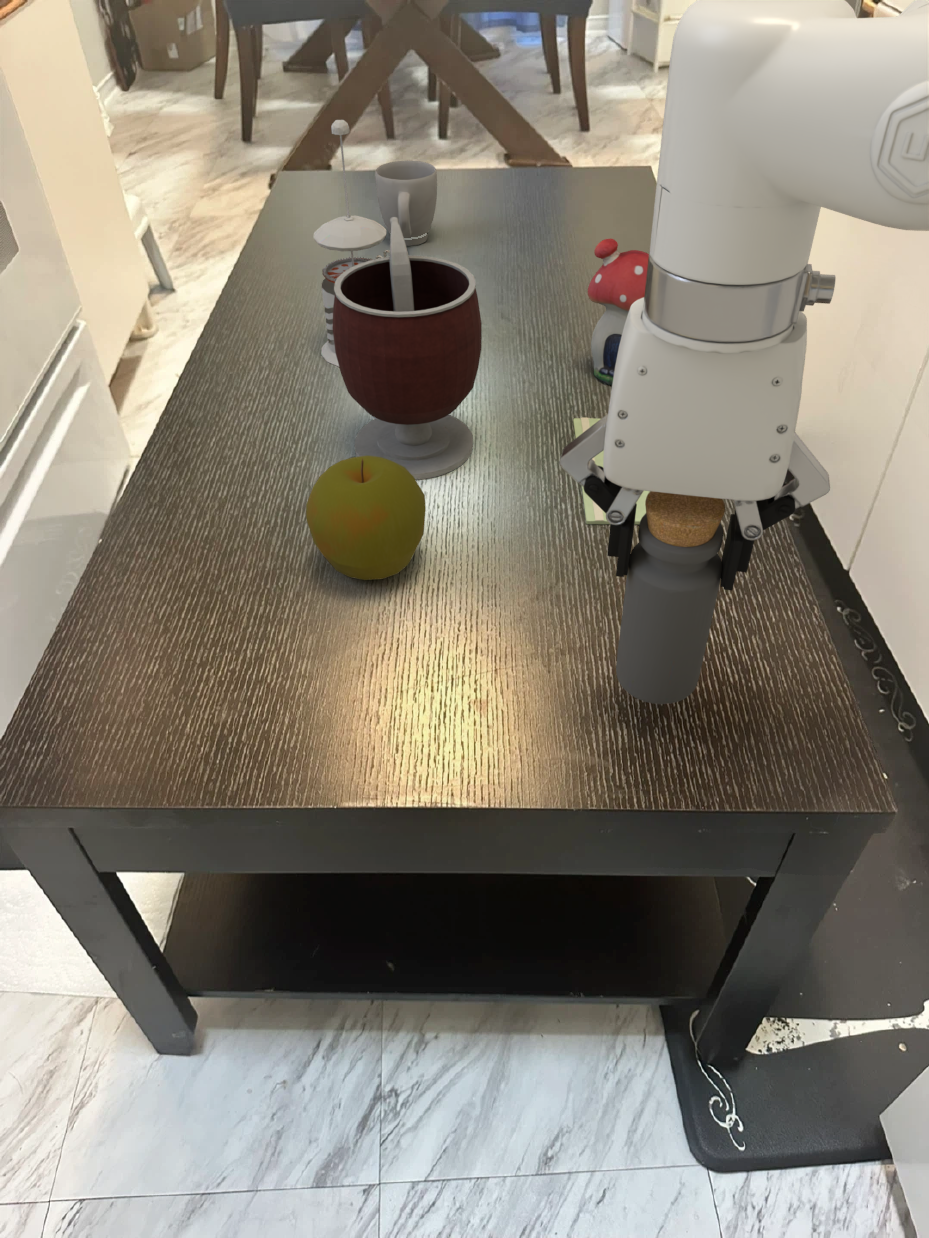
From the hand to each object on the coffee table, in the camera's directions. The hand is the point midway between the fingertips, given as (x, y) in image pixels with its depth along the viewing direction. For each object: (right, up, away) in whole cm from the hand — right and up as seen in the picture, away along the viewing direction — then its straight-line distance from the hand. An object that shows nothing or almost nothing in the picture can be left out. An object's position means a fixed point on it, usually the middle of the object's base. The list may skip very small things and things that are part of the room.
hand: (674, 567), depth 56 cm
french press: (-25, +29, +51) cm, 64 cm away
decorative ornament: (+5, +25, +46) cm, 52 cm away
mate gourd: (-19, +15, +36) cm, 43 cm away
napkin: (+4, +12, +32) cm, 34 cm away
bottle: (0, -7, +7) cm, 10 cm away
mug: (-22, +52, +75) cm, 94 cm away
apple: (-22, +1, +22) cm, 31 cm away
